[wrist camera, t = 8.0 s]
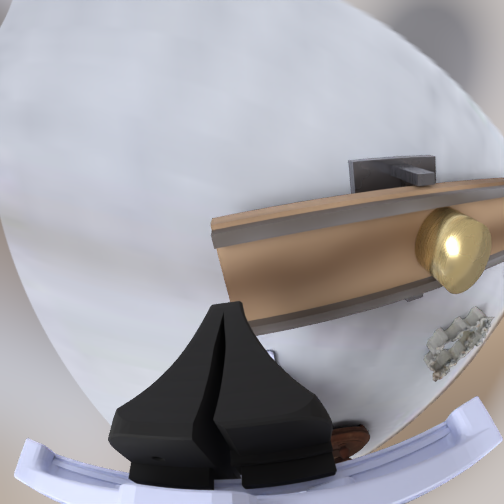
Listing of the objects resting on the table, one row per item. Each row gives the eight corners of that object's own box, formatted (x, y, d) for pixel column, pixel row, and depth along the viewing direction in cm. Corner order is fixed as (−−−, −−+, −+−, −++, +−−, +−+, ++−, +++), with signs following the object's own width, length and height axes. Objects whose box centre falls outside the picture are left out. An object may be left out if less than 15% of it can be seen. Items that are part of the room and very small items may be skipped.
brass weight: (459, 257, 17) (486, 278, 14) (414, 278, 17) (440, 304, 14) (461, 198, 15) (494, 214, 12) (413, 216, 15) (446, 236, 12)
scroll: (300, 422, 33) (323, 543, 15) (380, 414, 35) (416, 510, 17) (273, 457, 39) (284, 548, 21) (342, 451, 41) (363, 530, 23)
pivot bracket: (423, 268, 23) (448, 292, 19) (352, 286, 23) (372, 316, 19) (429, 155, 18) (463, 164, 14) (348, 160, 18) (376, 170, 14)
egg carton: (419, 364, 30) (431, 385, 27) (427, 329, 27) (443, 350, 23) (471, 336, 30) (484, 352, 26) (482, 299, 26) (499, 316, 23)
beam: (503, 250, 19) (514, 258, 17) (239, 323, 19) (240, 341, 17) (513, 177, 15) (526, 182, 14) (212, 218, 16) (209, 229, 14)
